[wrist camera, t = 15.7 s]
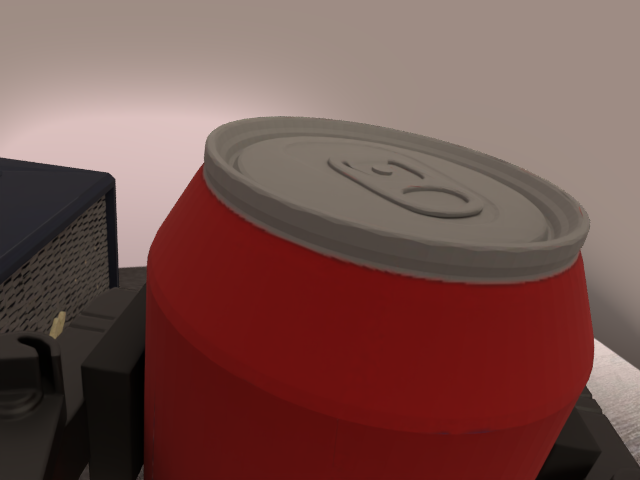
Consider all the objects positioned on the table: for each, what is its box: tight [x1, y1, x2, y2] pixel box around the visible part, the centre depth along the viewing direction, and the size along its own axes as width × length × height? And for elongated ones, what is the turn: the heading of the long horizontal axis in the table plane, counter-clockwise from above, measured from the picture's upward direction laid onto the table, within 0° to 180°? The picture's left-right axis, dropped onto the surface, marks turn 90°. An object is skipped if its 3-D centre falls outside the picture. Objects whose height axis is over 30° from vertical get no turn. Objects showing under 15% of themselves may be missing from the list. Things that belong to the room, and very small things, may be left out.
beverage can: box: [144, 116, 594, 480], centre depth 9 cm, size 7×7×12 cm
